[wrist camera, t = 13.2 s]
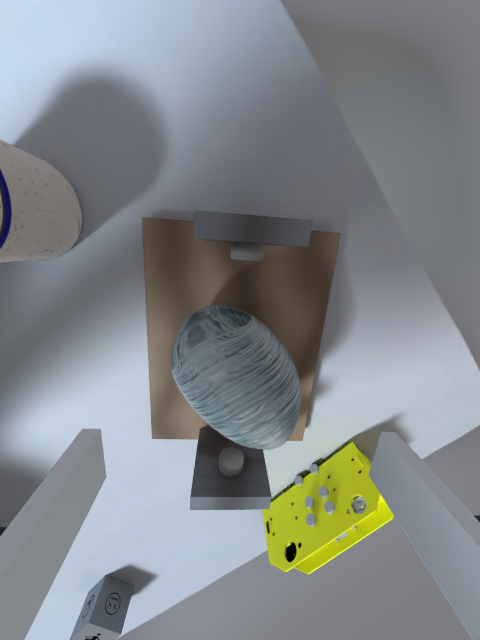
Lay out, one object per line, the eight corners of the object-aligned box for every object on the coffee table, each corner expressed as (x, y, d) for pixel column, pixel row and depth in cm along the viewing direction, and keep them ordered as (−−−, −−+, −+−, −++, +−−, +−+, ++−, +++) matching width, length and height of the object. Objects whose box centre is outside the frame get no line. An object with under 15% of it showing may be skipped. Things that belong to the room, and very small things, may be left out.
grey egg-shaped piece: (143, 323, 22) (133, 426, 14) (233, 264, 20) (278, 339, 13) (222, 391, 30) (244, 479, 22) (289, 352, 29) (337, 430, 21)
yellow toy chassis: (347, 434, 32) (387, 497, 24) (371, 457, 33) (417, 523, 25) (259, 501, 35) (269, 578, 27) (285, 520, 36) (302, 598, 28)
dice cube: (88, 591, 38) (69, 640, 33) (105, 574, 37) (88, 622, 33) (116, 602, 39) (101, 651, 35) (133, 585, 38) (121, 634, 34)
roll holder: (155, 429, 30) (125, 510, 21) (147, 218, 23) (95, 202, 14) (298, 431, 31) (329, 508, 22) (333, 234, 24) (398, 227, 15)
